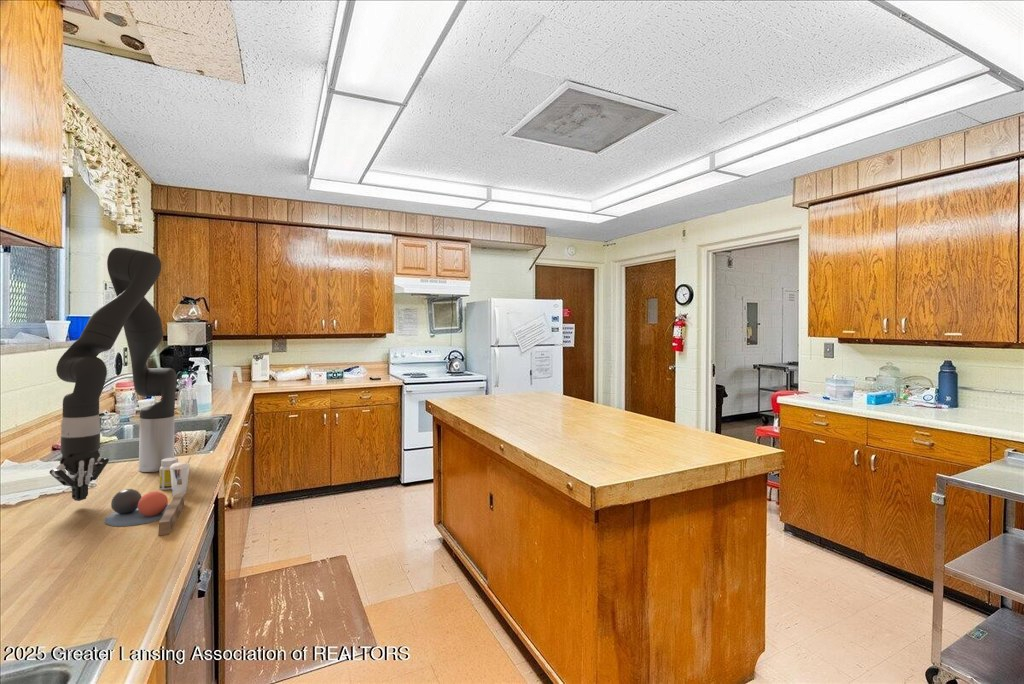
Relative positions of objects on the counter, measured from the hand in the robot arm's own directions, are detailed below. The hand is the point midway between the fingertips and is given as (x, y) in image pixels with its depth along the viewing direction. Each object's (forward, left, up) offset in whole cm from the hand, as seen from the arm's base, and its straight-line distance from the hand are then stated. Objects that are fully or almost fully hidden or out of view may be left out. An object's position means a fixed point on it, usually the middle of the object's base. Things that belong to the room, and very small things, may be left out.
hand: (80, 499), depth 122 cm
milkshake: (-9, +20, -2) cm, 22 cm away
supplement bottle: (-15, +14, -2) cm, 20 cm away
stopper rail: (+10, +27, -2) cm, 28 cm away
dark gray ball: (+5, +14, +1) cm, 15 cm away
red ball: (+7, +21, +1) cm, 22 cm away
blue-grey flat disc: (+6, +18, -2) cm, 19 cm away
